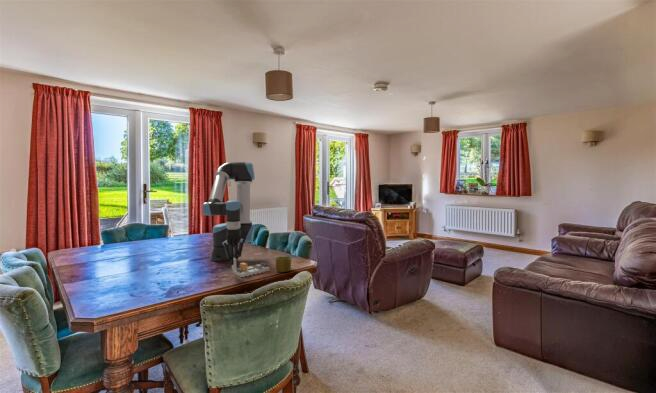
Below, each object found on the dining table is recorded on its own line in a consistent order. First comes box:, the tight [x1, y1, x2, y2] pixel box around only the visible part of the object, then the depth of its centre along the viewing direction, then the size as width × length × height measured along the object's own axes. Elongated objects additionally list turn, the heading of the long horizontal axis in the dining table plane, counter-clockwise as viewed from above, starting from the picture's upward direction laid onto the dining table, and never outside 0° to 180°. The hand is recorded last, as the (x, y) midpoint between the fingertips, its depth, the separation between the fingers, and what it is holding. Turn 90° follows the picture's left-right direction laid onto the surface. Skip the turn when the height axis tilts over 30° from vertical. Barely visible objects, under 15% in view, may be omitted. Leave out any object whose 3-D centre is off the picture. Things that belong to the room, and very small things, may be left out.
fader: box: [239, 262, 248, 271], centre depth 184 cm, size 4×2×4 cm, turn 43°
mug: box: [275, 255, 292, 273], centre depth 192 cm, size 12×10×10 cm
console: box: [232, 262, 270, 278], centre depth 187 cm, size 10×18×4 cm, turn 133°
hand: (234, 269), depth 180 cm, fingers closed
